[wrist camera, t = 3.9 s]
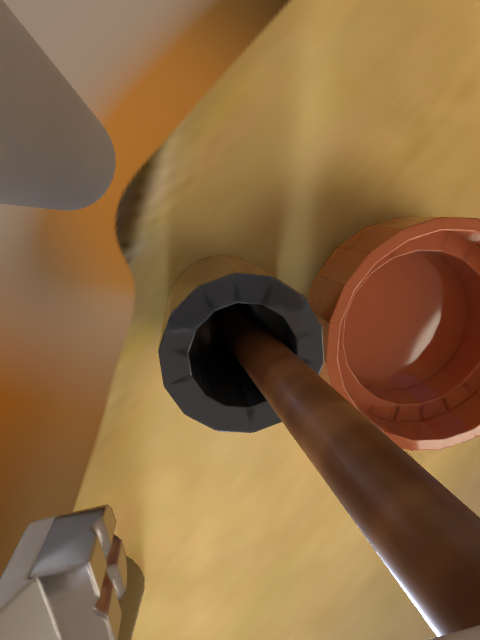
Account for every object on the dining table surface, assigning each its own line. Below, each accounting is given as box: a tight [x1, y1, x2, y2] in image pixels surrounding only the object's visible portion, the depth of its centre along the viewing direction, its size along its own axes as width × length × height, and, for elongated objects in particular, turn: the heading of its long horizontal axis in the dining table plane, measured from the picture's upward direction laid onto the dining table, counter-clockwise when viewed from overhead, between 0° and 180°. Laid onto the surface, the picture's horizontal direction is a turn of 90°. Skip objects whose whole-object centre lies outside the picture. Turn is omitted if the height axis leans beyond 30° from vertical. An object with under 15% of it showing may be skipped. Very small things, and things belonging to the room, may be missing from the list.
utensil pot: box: [158, 255, 325, 433], centre depth 22 cm, size 7×7×10 cm
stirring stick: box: [210, 303, 480, 637], centre depth 16 cm, size 2×2×22 cm
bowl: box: [307, 217, 480, 451], centre depth 26 cm, size 13×13×6 cm
